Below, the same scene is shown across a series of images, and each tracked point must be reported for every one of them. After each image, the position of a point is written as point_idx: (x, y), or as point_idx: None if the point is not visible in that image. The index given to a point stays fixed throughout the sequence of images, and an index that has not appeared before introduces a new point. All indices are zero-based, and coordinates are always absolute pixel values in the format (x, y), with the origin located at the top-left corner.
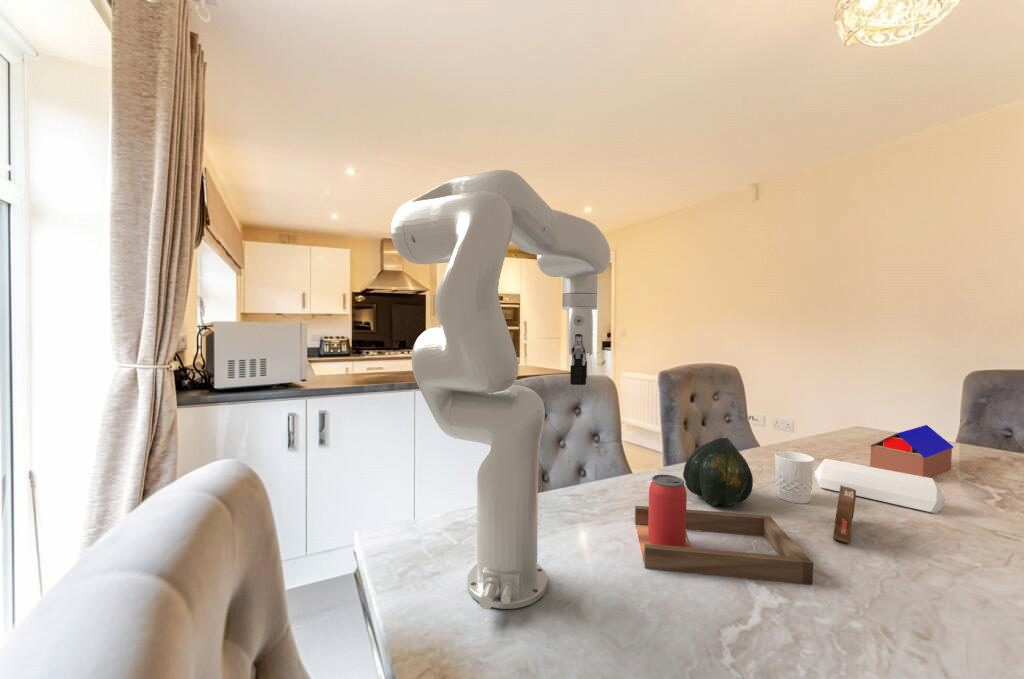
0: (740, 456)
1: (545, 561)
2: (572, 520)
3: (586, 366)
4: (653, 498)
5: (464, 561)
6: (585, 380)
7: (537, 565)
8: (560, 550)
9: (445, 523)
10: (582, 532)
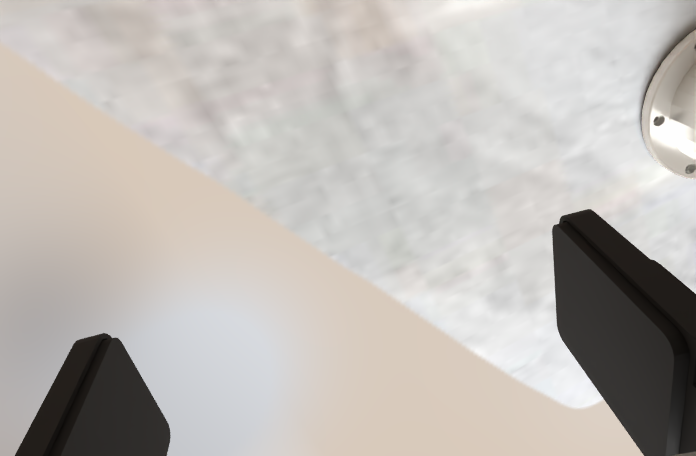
0: None
1: (622, 53)
2: (390, 57)
3: (49, 444)
4: None
5: (649, 210)
6: (611, 230)
7: (682, 57)
8: (565, 35)
9: (509, 320)
10: (453, 6)
